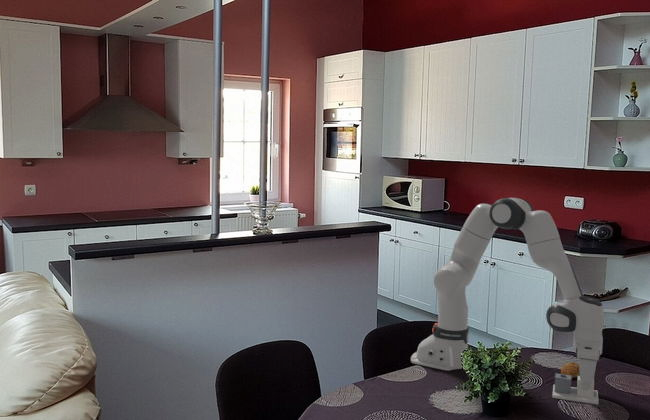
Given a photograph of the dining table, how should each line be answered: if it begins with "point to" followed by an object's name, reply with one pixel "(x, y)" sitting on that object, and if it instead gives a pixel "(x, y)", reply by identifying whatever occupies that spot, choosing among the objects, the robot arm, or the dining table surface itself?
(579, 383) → the module
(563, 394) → the rail base
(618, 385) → the dining table surface
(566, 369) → the pastry
